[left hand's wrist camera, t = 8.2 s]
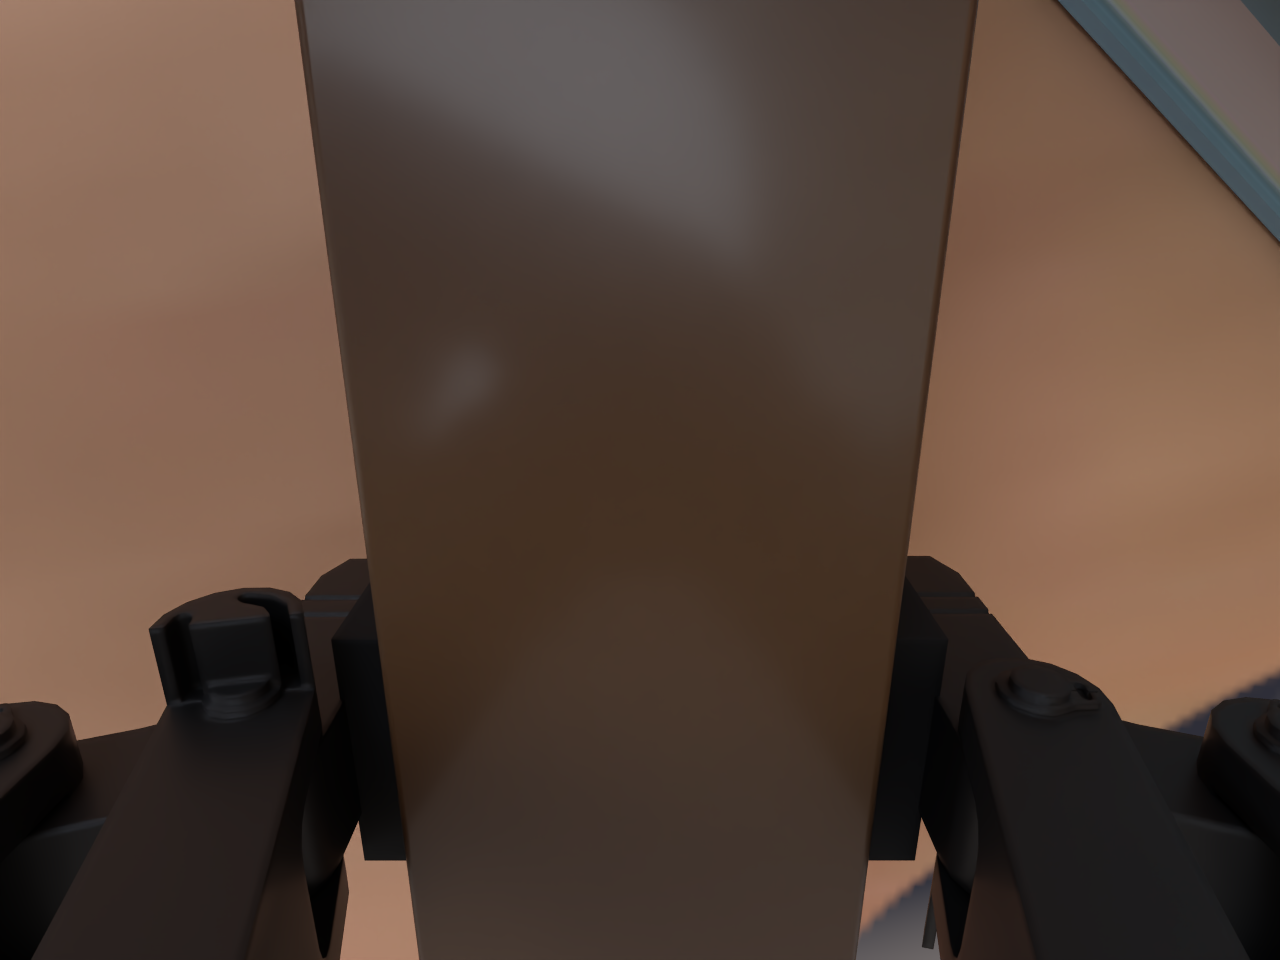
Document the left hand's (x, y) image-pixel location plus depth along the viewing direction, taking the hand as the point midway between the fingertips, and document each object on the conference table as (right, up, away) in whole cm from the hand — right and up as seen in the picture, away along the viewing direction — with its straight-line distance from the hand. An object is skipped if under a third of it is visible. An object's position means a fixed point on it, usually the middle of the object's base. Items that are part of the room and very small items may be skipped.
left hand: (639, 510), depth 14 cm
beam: (0, +19, -6) cm, 20 cm away
